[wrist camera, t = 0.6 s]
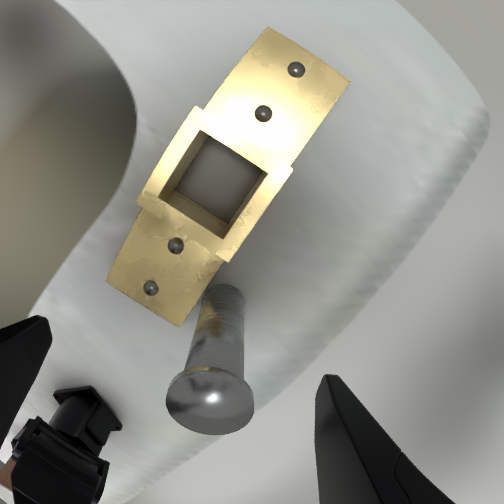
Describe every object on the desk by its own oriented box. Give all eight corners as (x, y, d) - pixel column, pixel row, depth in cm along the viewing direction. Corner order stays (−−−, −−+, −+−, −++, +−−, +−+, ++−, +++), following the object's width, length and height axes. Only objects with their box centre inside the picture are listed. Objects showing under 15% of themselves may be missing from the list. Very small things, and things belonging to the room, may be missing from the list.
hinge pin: (209, 332, 25) (189, 440, 14) (189, 288, 24) (150, 385, 13) (258, 317, 25) (265, 425, 14) (239, 271, 24) (234, 366, 13)
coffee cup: (9, 423, 31) (-24, 474, 19) (54, 432, 30) (21, 495, 19) (42, 464, 34) (18, 513, 22) (88, 475, 33) (66, 533, 22)
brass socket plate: (181, 322, 25) (169, 354, 21) (109, 277, 24) (85, 300, 19) (347, 83, 20) (369, 68, 15) (267, 30, 18) (271, 4, 14)
